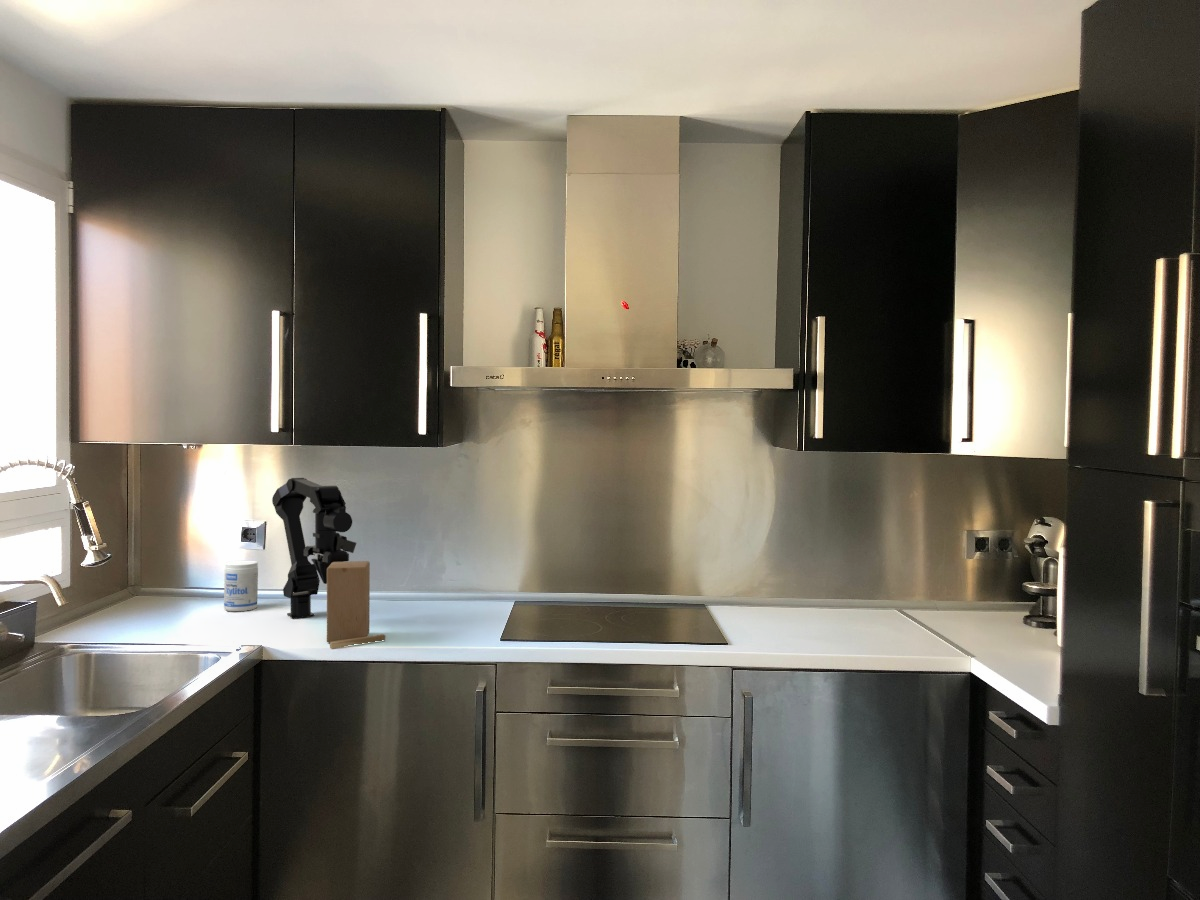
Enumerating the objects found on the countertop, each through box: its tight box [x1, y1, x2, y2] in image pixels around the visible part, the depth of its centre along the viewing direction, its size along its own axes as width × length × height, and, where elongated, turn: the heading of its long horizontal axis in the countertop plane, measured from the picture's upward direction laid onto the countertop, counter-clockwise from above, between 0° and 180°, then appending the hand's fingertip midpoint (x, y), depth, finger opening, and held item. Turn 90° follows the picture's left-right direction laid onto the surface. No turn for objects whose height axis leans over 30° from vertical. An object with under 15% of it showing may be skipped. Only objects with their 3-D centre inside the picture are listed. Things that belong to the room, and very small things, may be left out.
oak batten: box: [329, 633, 386, 650], centre depth 203 cm, size 2×14×2 cm, turn 125°
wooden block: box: [326, 560, 371, 643], centre depth 209 cm, size 10×10×20 cm
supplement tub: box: [223, 560, 259, 612], centre depth 243 cm, size 10×10×15 cm
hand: (325, 583), depth 223 cm, fingers closed
